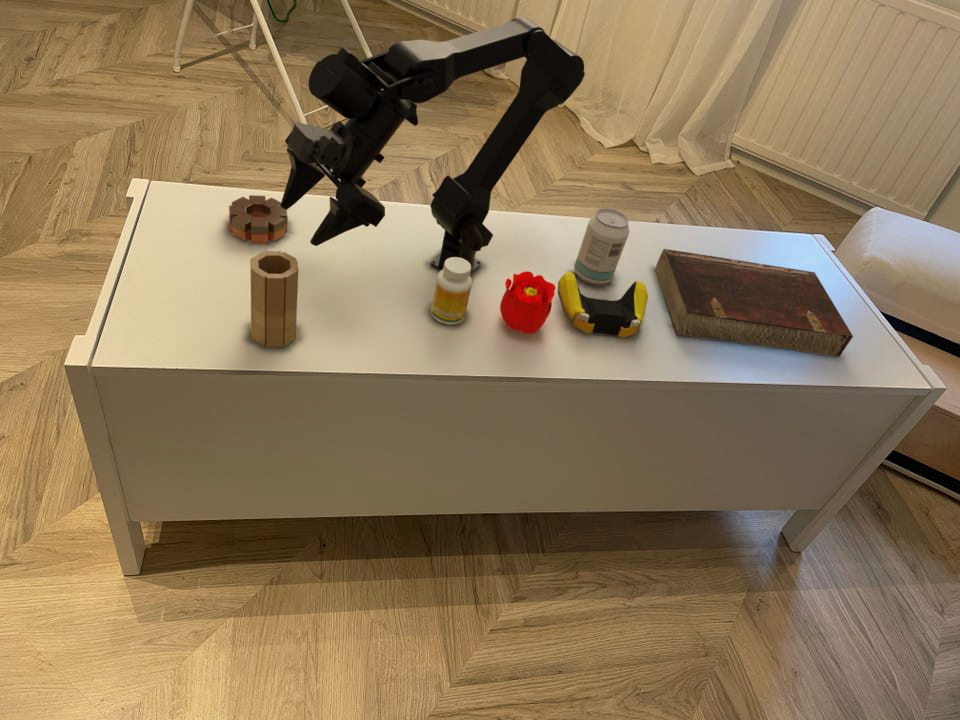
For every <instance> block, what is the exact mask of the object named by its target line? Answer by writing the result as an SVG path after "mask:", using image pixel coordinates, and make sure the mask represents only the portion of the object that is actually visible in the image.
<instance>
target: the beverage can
mask: <svg viewBox="0 0 960 720" xmlns="http://www.w3.org/2000/svg"><path fill="white" fill-rule="evenodd" d="M629 223H630V222H629V218H628V217H627V216H626V215H625V214H624V213H623V212H621V211H619V210H616V209H613V208H600V209H598V210H597V211H596V212H595V214H594V215H592V216H591V217H590V218H589V220H588V223H587V226H586V229H585V232H584V235H583V238H582V240H581V244H580V247H579V251H578V252H577V257H576V259H575V263H574V265H573V269H574V272H575V273H576V275H577V276H578V277H579V278H580V279H581V280H582V281H583V282H585V283H587V284H591V285H601V284H606V283H609V282H611V281H612V280H613V277H614V275H615V273H616V270H617V267H618V264H619V261H620V259H621V257H622V253H623V252H624V248H625V246H626V243H627V240H628V238H629V235H630V226H629Z"/></svg>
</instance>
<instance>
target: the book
mask: <svg viewBox="0 0 960 720" xmlns="http://www.w3.org/2000/svg"><path fill="white" fill-rule="evenodd" d="M654 271H655V274H656V277H657V280H658V282H659V285H660V288H661V292H662V295H663V298H664V300H665V303H666V306H667V309H668V313H669V316H670V318H671V322H672V325H673V327H674V331H675V334H676V335H680V336H681V335H682V336H688V337H696V338H702V339H711V340H716V341H717V340H718V341H723V342H730V343H737V344H745V345H751V346H760V347H766V348H774V349H780V350H781V349H782V350H786V351H787V350H788V351H795V352H802V353H808V354H809V353H810V354H816V355H823V356H830V357H836V358H837V357H838V358H840V357H841V356H842V354H843V352H844V351H845V350H846V348H847V347H848V345H849V343H850V342H851V340H852V339H853V338H854V335H853V334H852V332H851V330H850V328H849V326H848V325H847V324H846V322H845V320H844V319H843V317H842V315H841V313H840V312H839V310H838V309H837V307H836V305H835V304H834V302H833V300H832V299H831V297H830V296H829V294H828V292H827V291H826V289H825V287H824V285H823V284H822V282H821V280H820V278H819V276H818V275H817V273H816V272H815V271H809V270H803V269H797V268H789V267H784V266H778V265H770V264H765V263H758V262H752V261H746V260H745V261H744V260H738V259H733V258H727V257H726V258H725V257H720V256H712V255H706V254H700V253H694V252H687V251H680V250H674V249H673V250H672V249H668V248H663V249H662V251H661V254H660V255H659V258H658V259H657V262H656V266H655V269H654Z"/></svg>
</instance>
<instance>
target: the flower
mask: <svg viewBox="0 0 960 720" xmlns="http://www.w3.org/2000/svg"><path fill="white" fill-rule="evenodd" d="M512 275H513V276H512V279H510V278H509V277H508V278H506V280H505V283H504V285H505V289H506V290H505V291H504V293H503V296H502V299H501V301H500V305H499V310H500V311H499V312H500V315H501V318H502V320H503V322H504V323H505V325H506V326H507V327H508V328H509V329H510V330H512V331H516V332H519V333H522V334H527V335H528V334H529V335H531V334H536V333H537V332H538V331H539V330H540V329H541V328H542V327H543V326H544V324H545V322H546V321H547V319H548V317H549V316H550V314H551V310H552V304H553V298H554V296H555V295H556V293H555V291H556V285H555V284H554V283H552V282H549V281H547V280H546V279H545V278H544V276H543V275H541V274H538V275H535V276H534V274H533V273H532V272H531V271H528V270H527V271H526V270H525V271H522V272H520V273H518V274H517V273H513V274H512Z"/></svg>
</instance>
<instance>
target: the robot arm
mask: <svg viewBox="0 0 960 720" xmlns="http://www.w3.org/2000/svg"><path fill="white" fill-rule="evenodd" d="M522 58H525V59H526V60H525V63H524V65H523V66H522V68H521V71H520V79H519V88H518V92H517V94H516V95H515V97H514V99H513V100H512V102H511V103H510V104H509V106H508V107H507V108H506V110H505V112H504V113H503V115H502V116H501V118H500V120H499V121H498V122H497V124H496V125H495V127H494V128H493V130H492V131H491V133H490V134H489V136H488V138H487V139H486V140H485V141H484V143H483V144H482V146H481V148H479V150H478V152H477V154H476V155H475V157H474V159H473V160H472V161H471V163H470V164H469V166H468V167H467V169H466V170H465V171H464V172H463V173H461V174H459V175H457V176H455V177H452V176H450V175H446V176H445V177H444V178H443V179H442V181H441V184H440V185H439V187H438V188H437V189H436V191H434V192H433V193H432V195H431V196H432V197H433V199H432V200H431V202H430V205H429V207H430V211H431V215H432V217H433V218H434V219H435V221H436V225H439V226H440V227H441V228H442V229H443V230H444V233H443V237H442V238H443V239H442V244H441V248H440V254H438V255H437V256H436V257H434V258H433V259H432V260H431V261H430V264H429V265H430V266H431V267H433V268H435V269H437V270H439V271H441V270H443V267H444V263H445V261H446V260H447V259H448V258H451V257H459V258H463V259H465V260H467V261H468V262H469V263H470V265H471V272H470V275H472V274H473V273H474V272H475V271H477V270H478V269H479V268H480V267H481V266H482V261H480V260H478V259H476V254H477V252H480V251H481V250H482V248H485V247H488V246H489V244H490V242H491V241H492V239H493V237H494V234H493V233H492V232H491V231H490V229H488V228H487V227H486V226H485V225H484V222H485V220H486V218H487V217H488V214H489V212H490V205H491V196H492V191H493V190H494V188H495V187H496V185H497V184H498V182H499V181H500V179H501V177H502V176H503V175H504V173H505V172H506V171H507V169H508V168H509V166H510V165H511V163H512V162H513V160H514V159H515V157H516V156H517V154H518V153H519V152H520V150H521V148H523V146H524V144H525V143H526V141H528V138H529V137H530V136H531V135H532V133H533V131H534V130H535V128H536V127H537V125H538V124H539V122H540V121H541V120H542V118H543V117H544V115H545V114H546V113H547V112H548V111H550V110H552V109H554V108H556V107H558V106H560V105H562V104H564V103H566V101H567V100H568V99H569V98H570V97H571V95H572V94H573V93H574V92H575V91H576V90H577V89H578V87H579V86H580V85H581V84H582V82H583V80H584V78H585V76H586V73H585V62H584V60H583V58H582V57H581V56H579V55H578V54H577V53H575V52H573V51H572V50H571V49H569V48H568V47H566V46H565V45H563V44H562V43H560V42H558V41H557V40H556V39H553V38H551V37H550V36H549V35H548V34H547V33H546V31H545V30H544V28H543V27H541V26H540V25H538V24H536V23H535V22H534V21H532V20H530V19H529V18H527V17H525V16H517V17H515V18H513V19H511V21H509V22H505V23H503V24H499V25H496V26H492V27H489V28H486V29H482V30H479V31H476V32H475V31H474V32H472V33H469V34H466V35H463V36H458V37H455V38H453V39H449V40H445V41H444V40H443V41H435V40H426V39H414V40H413V39H412V40H402V41H398V42H396V43H394V44H392V45H391V46H389V47H388V50H386V51H383V52H380V53H377V54H375V55H373V56H370V57H367V58H365V59H362V60H361V61H360V60H359V58H358V57H357V56H356V55H354V54H353V53H352V52H351V51H350V50H349V49H348V48H346V47H345V46H341V47H340V49H339V50H338V52H337V53H330V54H328V55H326V56H325V57H322V59H321V60H318V61H317V62H316V63H315V65H314V66H313V68H312V70H311V72H310V74H309V78H308V91H309V92H310V94H311V95H312V96H313V97H315V98H316V99H318V100H319V101H320V102H322V103H323V104H325V105H326V106H327V107H329V108H330V109H332V111H335V112H336V113H338V114H339V115H341V117H344V118H345V119H347V121H346V122H345V123H343V122H341V121H340V120H337V122H334V123H333V125H332V126H331V127H330V128H329V129H328V128H324V127H321V126H318V125H314V124H313V125H312V124H308V123H302V122H294V123H293V127H292V130H291V132H290V133H289V134H288V136H287V137H286V139H285V140H284V143H285V144H286V145H287V146H286V147H287V148H286V153H287V154H288V159H289V161H290V171H289V175H288V179H287V182H286V185H285V189H284V192H283V195H282V198H281V201H280V202H281V205H280V206H281V207H282V208H283V209H285V210H287V211H288V210H289V209H290V208H291V207H293V206H294V205H295V204H297V202H299V201H300V200H301V199H302V198H303V197H304V196H305V195H306V194H307V193H308V192H309V191H311V190H312V189H313V188H314V187H315V186H316V185H317V184H318V183H319V182H320V181H321V180H323V179H324V178H325V177H327V178H328V179H329V180H330V181H331V182H332V184H333V185H334V186H335V187H336V191H335V198H334V197H332V196H329V211H328V212H327V214H326V216H325V217H324V218H323V220H322V221H321V222H320V224H319V226H318V227H317V229H316V230H315V232H314V233H313V236H312V237H311V239H310V240H309V241H310V242H309V243H310V244H311V245H313V246H314V247H317V246H320V245H322V244H324V243H325V242H328V241H330V240H331V239H334V238H336V237H337V236H340V235H342V234H344V233H346V232H348V231H351V230H353V229H356V228H359V227H362V226H364V227H366V228H368V227H369V226H370V225H372V226H373V227H375V228H377V226H378V225H379V224H380V223H381V222H382V220H383V219H384V218H385V216H386V207H385V205H383V203H382V202H381V201H379V199H378V198H377V197H376V196H375V195H374V194H373V193H372V192H370V191H368V190H366V189H365V188H364V186H365V184H366V183H367V181H366V180H365V179H364V178H363V176H364V175H365V173H366V172H367V171H368V170H369V168H370V167H371V165H372V164H373V163H374V161H376V162H377V163H379V164H382V162H383V161H384V159H385V158H386V157H385V156H384V155H383V154H382V153H381V152H382V151H383V149H384V148H385V146H386V145H387V144H388V143H389V141H390V140H391V139H392V137H393V136H394V134H395V133H396V132H397V131H398V129H399V128H400V127H401V125H402V124H403V123H404V121H405V120H406V121H407V122H408V123H410V124H411V125H413V126H414V127H416V126H418V125H419V118H418V113H417V109H418V104H424V103H426V102H429V101H431V100H433V99H434V98H437V97H438V96H440V95H442V94H444V93H446V91H448V89H449V88H450V87H451V85H453V83H454V82H455V81H457V80H459V79H461V78H464V77H466V76H470V75H473V74H476V73H479V72H481V71H485V70H488V69H492V68H495V67H497V66H501V65H503V64H507V63H510V62H513V61H516V60H519V59H522Z"/></svg>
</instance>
